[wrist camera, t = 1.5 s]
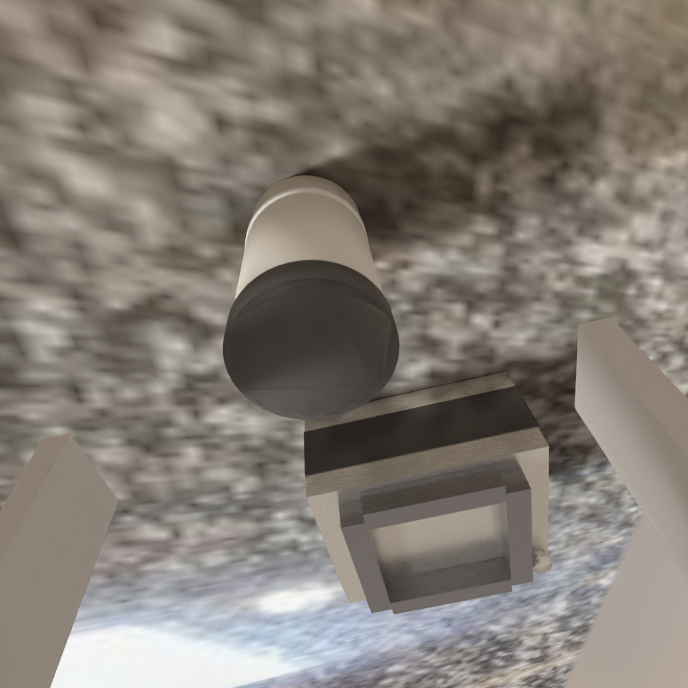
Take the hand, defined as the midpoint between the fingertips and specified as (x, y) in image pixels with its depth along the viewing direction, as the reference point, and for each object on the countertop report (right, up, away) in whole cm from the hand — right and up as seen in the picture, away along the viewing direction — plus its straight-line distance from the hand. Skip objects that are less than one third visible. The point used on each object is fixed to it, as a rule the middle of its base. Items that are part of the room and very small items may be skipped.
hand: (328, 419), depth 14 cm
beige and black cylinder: (-1, +7, +11) cm, 13 cm away
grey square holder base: (+5, -5, +19) cm, 21 cm away
